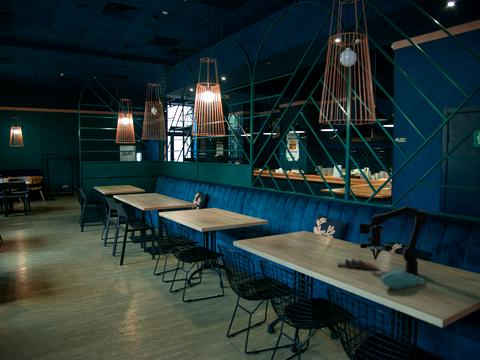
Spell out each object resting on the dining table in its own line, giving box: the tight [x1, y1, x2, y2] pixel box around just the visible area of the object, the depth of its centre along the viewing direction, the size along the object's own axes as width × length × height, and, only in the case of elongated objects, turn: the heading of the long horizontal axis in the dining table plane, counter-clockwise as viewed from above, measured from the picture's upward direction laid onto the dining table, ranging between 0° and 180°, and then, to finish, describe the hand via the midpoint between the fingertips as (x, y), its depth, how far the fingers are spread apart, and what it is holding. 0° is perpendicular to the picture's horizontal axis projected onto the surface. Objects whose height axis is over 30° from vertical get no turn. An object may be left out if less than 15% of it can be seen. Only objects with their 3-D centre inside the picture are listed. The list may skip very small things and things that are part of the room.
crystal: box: [380, 269, 426, 290], centre depth 199 cm, size 10×34×10 cm, turn 114°
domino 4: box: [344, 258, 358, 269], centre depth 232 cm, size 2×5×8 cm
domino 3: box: [351, 258, 366, 270], centre depth 231 cm, size 2×5×8 cm
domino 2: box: [357, 259, 373, 271], centre depth 230 cm, size 2×5×8 cm
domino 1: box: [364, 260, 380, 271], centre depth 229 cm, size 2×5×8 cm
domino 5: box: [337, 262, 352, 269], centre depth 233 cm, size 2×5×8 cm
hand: (375, 259), depth 228 cm, fingers closed
